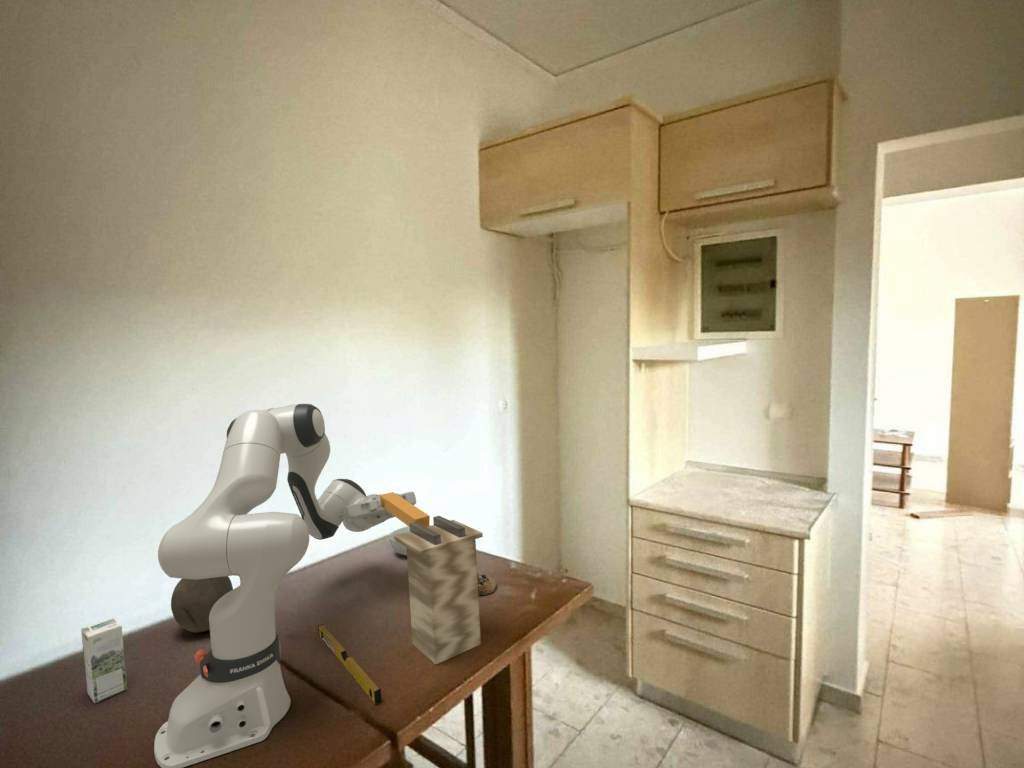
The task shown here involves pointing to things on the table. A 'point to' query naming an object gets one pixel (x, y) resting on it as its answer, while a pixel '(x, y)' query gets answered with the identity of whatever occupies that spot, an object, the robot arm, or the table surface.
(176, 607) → the dark grey ball
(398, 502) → the long orange beam
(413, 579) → the stand
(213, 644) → the robot arm
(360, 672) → the spirit level
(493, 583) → the bread roll
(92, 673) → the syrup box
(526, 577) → the table surface
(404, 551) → the cereal bowl
